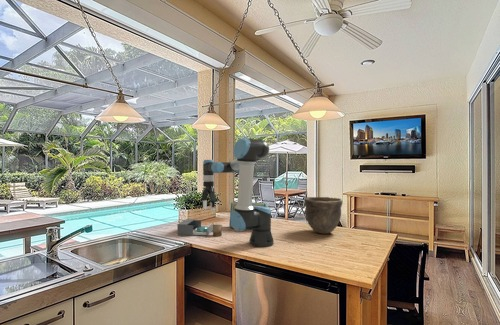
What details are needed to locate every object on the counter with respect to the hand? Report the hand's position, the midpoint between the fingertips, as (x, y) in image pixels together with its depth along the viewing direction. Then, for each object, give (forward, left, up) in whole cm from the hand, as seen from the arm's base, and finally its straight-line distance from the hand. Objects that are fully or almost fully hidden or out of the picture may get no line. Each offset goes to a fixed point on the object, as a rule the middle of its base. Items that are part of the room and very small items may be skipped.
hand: (208, 210), depth 197 cm
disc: (0, +4, -15) cm, 15 cm away
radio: (+17, -27, -16) cm, 36 cm away
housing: (0, +13, -16) cm, 21 cm away
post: (-6, -8, -16) cm, 19 cm away
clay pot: (+11, -82, -16) cm, 84 cm away
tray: (0, +5, -16) cm, 17 cm away
